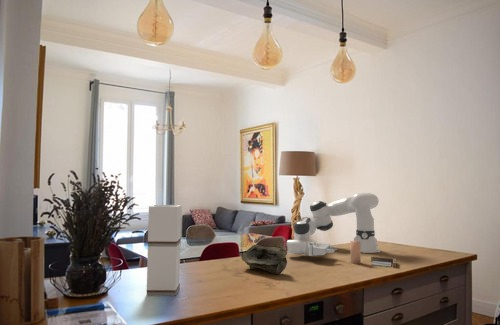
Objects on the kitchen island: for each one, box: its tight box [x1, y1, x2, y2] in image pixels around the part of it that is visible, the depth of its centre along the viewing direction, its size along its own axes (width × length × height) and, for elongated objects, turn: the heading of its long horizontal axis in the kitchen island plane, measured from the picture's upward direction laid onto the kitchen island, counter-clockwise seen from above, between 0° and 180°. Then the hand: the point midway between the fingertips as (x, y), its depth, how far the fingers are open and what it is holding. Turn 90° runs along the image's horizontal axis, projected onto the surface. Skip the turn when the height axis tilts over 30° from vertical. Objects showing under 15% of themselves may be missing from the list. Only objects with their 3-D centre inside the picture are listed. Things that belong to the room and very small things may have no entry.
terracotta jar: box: [349, 240, 362, 265], centre depth 213 cm, size 6×6×12 cm
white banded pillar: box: [146, 204, 182, 297], centre depth 153 cm, size 11×11×35 cm
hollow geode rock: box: [240, 243, 288, 275], centre depth 191 cm, size 28×13×15 cm
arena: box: [370, 256, 397, 269], centre depth 210 cm, size 14×14×2 cm
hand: (335, 249), depth 217 cm, fingers open, 8 cm apart
